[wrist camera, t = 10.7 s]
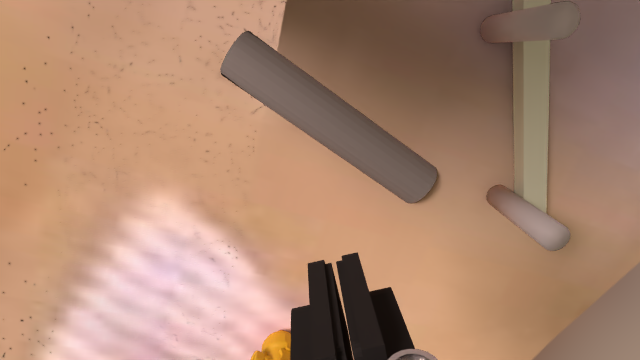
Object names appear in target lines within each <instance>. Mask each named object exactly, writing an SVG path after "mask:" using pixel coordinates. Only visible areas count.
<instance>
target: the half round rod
mask: <svg viewBox="0 0 640 360" xmlns="http://www.w3.org/2000/svg"><path fill="white" fill-rule="evenodd" d="M220 70H221V75H222V76H224V77H225V78H227V79H228V80H230V81H231V82H232V83H234V84H235V85H237V86H238V87H240V88H241V89H243V90H244V91H246V92H247V93H248V94H250V95H251V96H253V97H254V98H256V99H257V100H259V101H260V102H262V103H263V104H264V105H266V106H267V107H269V108H270V109H272V110H273V111H275V112H276V113H277V114H279V115H280V116H282V117H283V118H285V119H286V120H288V121H289V122H291V123H292V124H293V125H295V126H296V127H298V128H299V129H301V130H302V131H304V132H305V133H307V134H308V135H309V136H311V137H312V138H314V139H315V140H317V141H318V142H320V143H321V144H323V145H324V146H325V147H327V148H328V149H330V150H331V151H333V152H334V153H336V154H337V155H338V156H340V157H341V158H343V159H344V160H346V161H347V162H349V163H350V164H352V165H353V166H354V167H356V168H357V169H359V170H360V171H362V172H363V173H365V174H366V175H368V176H369V177H370V178H372V179H373V180H375V181H376V182H378V183H379V184H381V185H382V186H383V187H385V188H386V189H388V190H389V191H391V192H392V193H394V194H395V195H397V196H398V197H399V198H401V199H402V200H404V201H405V202H407V203H415V202H417V201H419V200H421V199H422V198H423V197H424V196H425V195H426V194H427V193H428V192H429V191H430V189H431V188H432V187H433V185H434V183H435V181H436V177H437V169H436V168H435V167H434V166H433V165H431V164H430V163H429V162H427V161H426V160H424V159H423V158H422V157H420V156H419V155H418V154H416V153H415V152H414V151H412V150H411V149H409V148H408V147H407V146H405V145H404V144H403V143H401V142H400V141H398V140H397V139H396V138H394V137H393V136H392V135H390V134H389V133H388V132H386V131H385V130H383V129H382V128H381V127H379V126H378V125H377V124H375V123H374V122H373V121H371V120H370V119H368V118H367V117H366V116H364V115H363V114H362V113H360V112H359V111H358V110H356V109H355V108H353V107H352V106H351V105H349V104H348V103H347V102H345V101H344V100H343V99H341V98H340V97H338V96H337V95H336V94H334V93H333V92H332V91H330V90H329V89H328V88H326V87H325V86H323V85H322V84H321V83H319V82H318V81H317V80H315V79H314V78H313V77H311V76H310V75H308V74H307V73H306V72H304V71H303V70H302V69H300V68H299V67H297V66H296V65H295V64H293V63H292V62H291V61H289V60H288V59H287V58H285V57H284V56H282V55H281V54H280V53H278V52H277V51H276V50H274V49H273V48H272V47H270V46H269V45H267V44H266V43H265V42H263V41H262V40H261V39H259V38H258V37H257V36H255V35H254V34H252V33H251V32H250V31H246V32H244V33H242V34H241V35H240V36H239V37H238V38H237V40H236V41H235V42H234V43H233V45H232V46H231V48H230V49H229V51H228V53H227V54H226V56H225V58H224V61H223V63H222V66H221V69H220Z"/></svg>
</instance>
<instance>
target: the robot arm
mask: <svg viewBox="0 0 640 360" xmlns="http://www.w3.org/2000/svg"><path fill="white" fill-rule="evenodd" d="M336 264H337V269H338V275H339V280H340V286H341V291H342V297H343V302H344V308H345V313H346V319H347V324H348V330H349V334H348V330H347V325H346V321H345V317H344V313H343V309H342V305H341V301H340V297H339V292H338V288H337V284H336V280H335V276H334V272H333V268H332V264H331V263H328V264H325V262H324V260H321V261H317V262H312V263H308V280H309V301H310V305H307V306H302V307H298V308H293V309H292V311H291V347H290V360H353V356H354V360H438V359H437V358H436V357H435V356H433V355H432V354H430V353H428V352H426V351H423V350H419V349H415V348H414V345H413V342H412V340H411V337H410V335H409V332H408V330H407V327H406V324H405V322H404V319H403V317H402V314H401V312H400V309H399V306H398V304H397V301H396V299H395V296H394V294H393V291H392V289H391V287H388V288H384V289H379V290H375V291H370V292H369V290H368V286H367V283H366V280H365V276H364V273H363V269H362V266H361V263H360V259H359V256H358V253H353V254H348V255H344V256H342V261H337V262H336ZM349 335H350V339H349ZM350 341H351V345H350ZM351 346H352V351H353V356H352V351H351Z"/></svg>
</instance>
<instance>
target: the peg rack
mask: <svg viewBox="0 0 640 360" xmlns="http://www.w3.org/2000/svg"><path fill="white" fill-rule="evenodd" d="M579 22H580V11H579V8H578V7H577V5H576V4H574V3H573V2H570V1H563V2H558V3H552V4H551V0H512V12H506V13H501V14H496V15H492V16H489V17H487V18H486V19H485V20H484V21H483V23H482V25H481V28H480V34H481V37H482V39H483V40H484V41H486V42H488V43H502V42H513V129H514V192H512V191H511V190H509V189H508V188H506V187H505V186H503V185H496V186H494V187H492V188H491V189H490V190H489V191H488V193H487V196H486V198H487V202H488V203H489V204H490V205H492V206H493V207H494V208H495V209H496V210H498V211H499V212H500V213H501V214H503V215H504V216H505V217H506V218H508V219H509V220H510V221H511V222H513V223H514V224H515V225H516V226H518V227H519V228H520V229H521V230H523V231H524V232H525V233H526V234H528V235H529V236H530V237H531V238H533V239H534V240H535V241H536V242H538V243H539V244H540V245H541V246H543V247H544V248H545V249H547V250H549V251H556V250H559V249H561V248H563V247H564V246H565V245H566V244H567V243H568V241H569V239H570V231H569V229H568V228H567V227H566V226H564V225H563V224H561V223H560V222H558V221H557V220H555V219H553V218H552V217H550V216H549V215H547V168H548V122H549V76H550V40H560V39H565V38H567V37H569V36H570V35H572V34H573V33H574V32H575V30H576V29H577V27H578V25H579Z"/></svg>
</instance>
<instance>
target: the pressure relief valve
mask: <svg viewBox="0 0 640 360" xmlns="http://www.w3.org/2000/svg"><path fill="white" fill-rule="evenodd" d="M290 347H291V333H289V332H286V331H283V330H280V331H278V332H274V333H272V334H270V335H269V336H268V337H267V339H266V340H265V341H264V343H263V345H262V352H260V351H255V352H254V354H253V355H252V357H251V360H290Z"/></svg>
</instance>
